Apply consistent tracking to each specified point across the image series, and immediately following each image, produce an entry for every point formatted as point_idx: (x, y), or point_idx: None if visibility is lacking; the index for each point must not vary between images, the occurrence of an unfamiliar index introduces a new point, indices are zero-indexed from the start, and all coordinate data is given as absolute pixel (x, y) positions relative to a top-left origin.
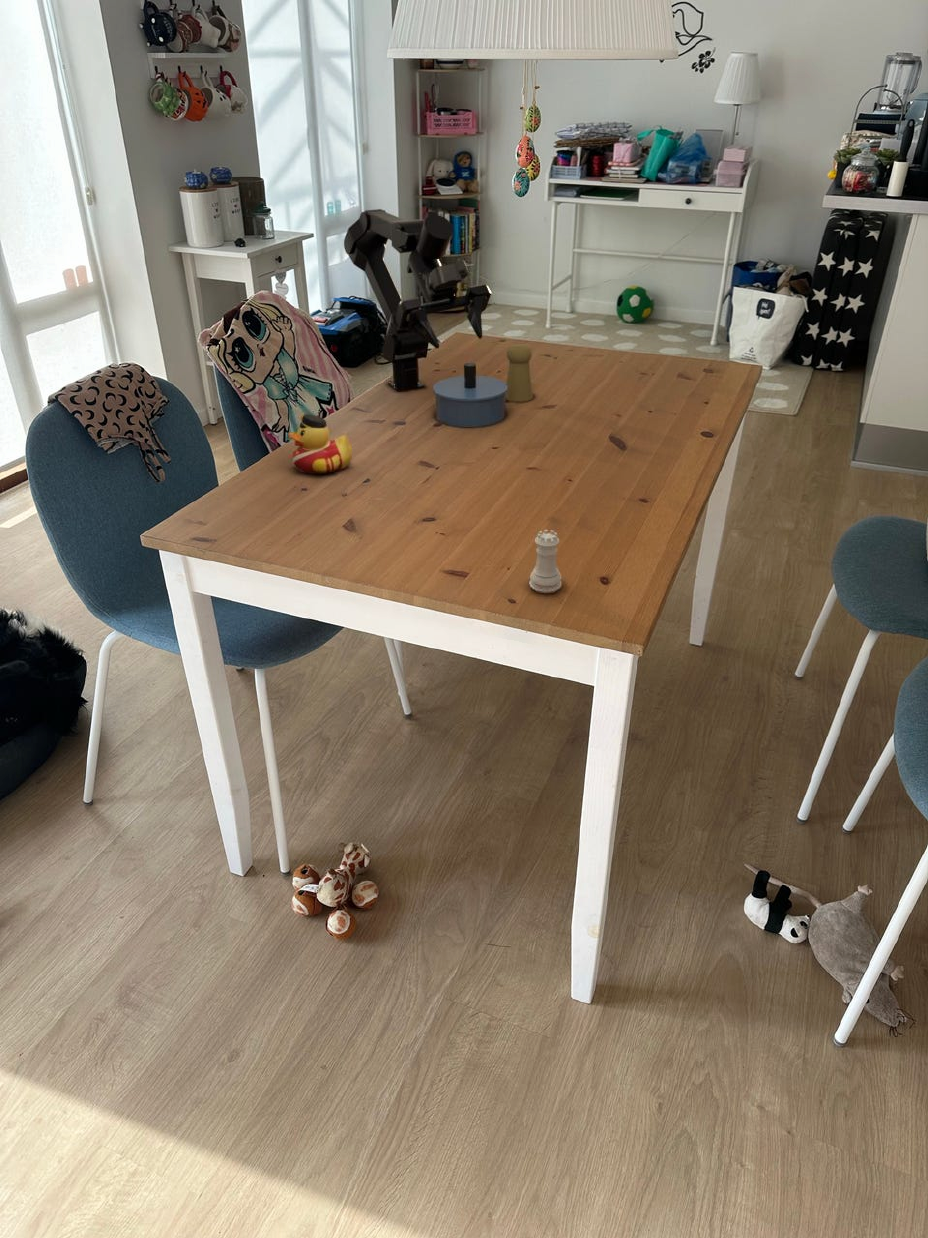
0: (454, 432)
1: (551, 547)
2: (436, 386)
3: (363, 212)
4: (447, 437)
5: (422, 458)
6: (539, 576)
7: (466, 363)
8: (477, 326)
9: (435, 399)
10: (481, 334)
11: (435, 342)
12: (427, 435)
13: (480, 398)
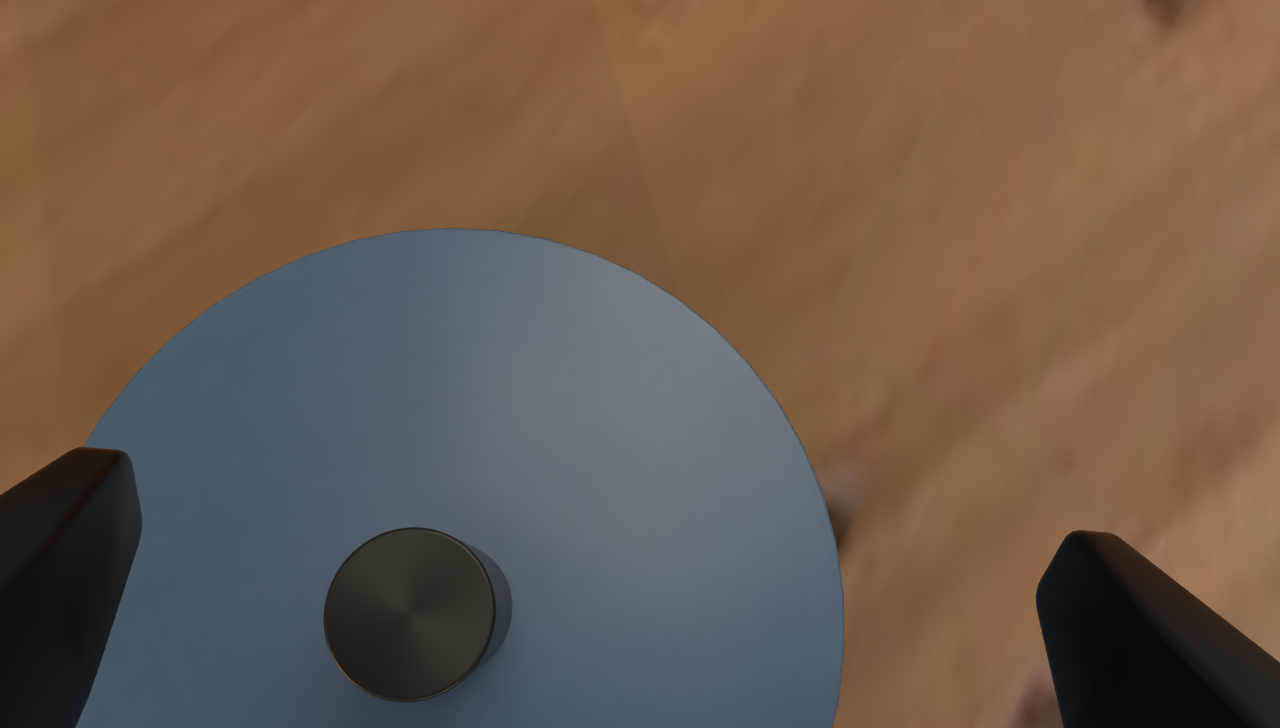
0: (770, 335)
1: None
2: None
3: None
4: (858, 277)
5: (1144, 56)
6: None
7: (424, 684)
8: (6, 605)
9: None
10: (92, 448)
11: (1163, 573)
12: (967, 385)
13: (552, 242)
